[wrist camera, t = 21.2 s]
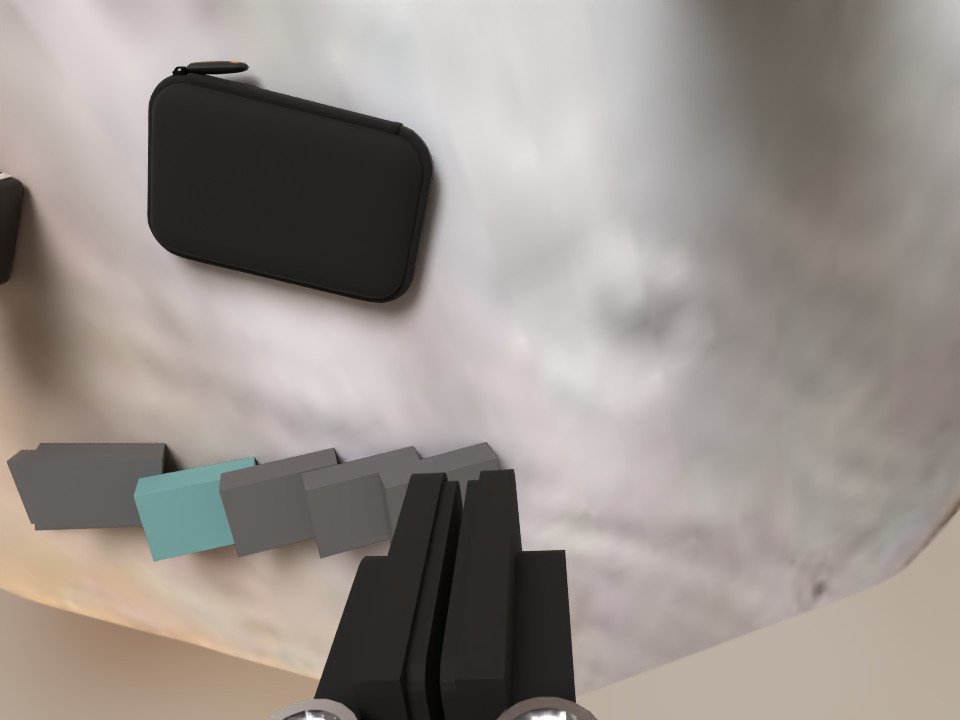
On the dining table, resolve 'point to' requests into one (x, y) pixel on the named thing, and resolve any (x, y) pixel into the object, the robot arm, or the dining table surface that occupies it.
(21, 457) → the domino
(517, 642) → the robot arm
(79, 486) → the domino
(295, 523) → the domino
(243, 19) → the dining table surface
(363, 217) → the carrying case or bag
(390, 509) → the domino
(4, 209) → the battery charger
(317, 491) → the domino
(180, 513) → the domino
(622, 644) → the dining table surface
